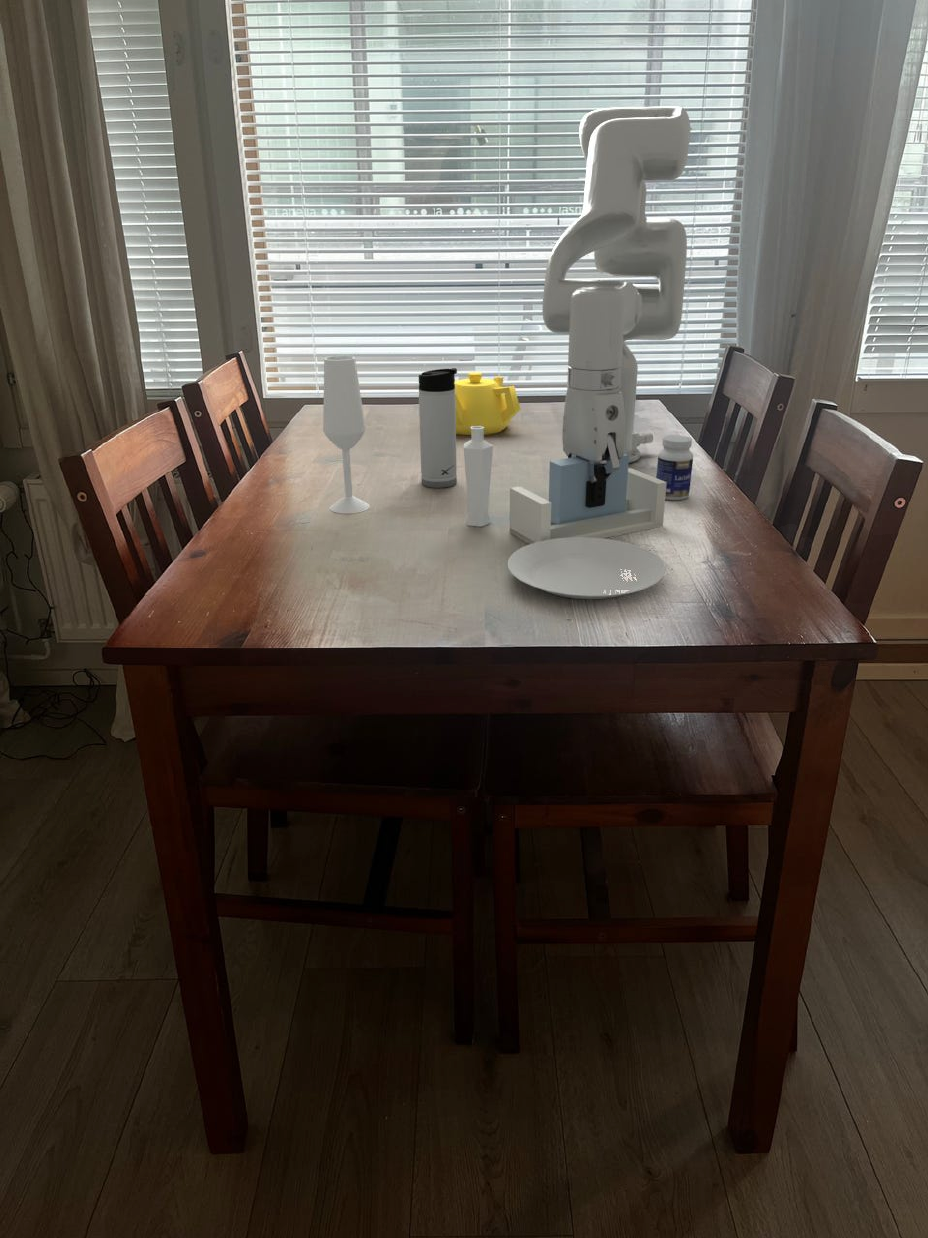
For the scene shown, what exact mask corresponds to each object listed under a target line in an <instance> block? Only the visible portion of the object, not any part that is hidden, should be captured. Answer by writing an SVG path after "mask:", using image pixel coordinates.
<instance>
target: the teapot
mask: <svg viewBox="0 0 928 1238" xmlns="http://www.w3.org/2000/svg"><path fill="white" fill-rule="evenodd" d="M482 377H483V373H482V372H477V371H475V372H474V371H472V372H469V373H467V378H464V379H463V378H462V379H459V380H455V383H454V384H455V404H456V435H463V436H471V426H482V427H485V428H484V436H486V435H487V436H488V435H492V434H493V435H494V434H498V433H500V432H503V431H504V430H505V429H506V427H508V425H509V424H510V423H511V420H512V418H514V417H515V415H517V414H518V413H519V412H520V411H521V406H520V402H519V399H518V394H517V390H516V387H515V385H511V386H510V385H509V386H504V385H503V384H504V377H503V376H496V377H493V379H490V378H489V379H488V378H482ZM502 430H503V431H502Z"/></svg>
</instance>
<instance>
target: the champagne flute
mask: <svg viewBox="0 0 928 1238" xmlns="http://www.w3.org/2000/svg"><path fill="white" fill-rule="evenodd" d="M323 360H324V361H323V366H324V367H323V409H322V410H323V412H322V413H323V414H322V415H323V416H322V419H323V420H322V421H323V422H322V429H323V433H324V435H325V437H326V438H327V439H328V441H330V442H331V443H332V444H333V445H334V446H335V447H337V448H339V450H341V452H342V453H341V454H342V466H343V468H342V469H343V481H344V495H345V496H343V497H342V498H340V499H339V500H337V501H335V502H334V503H333V504H331V505H330V506H329V511H331V512H333V513H338V514H356V513H361V512H364V511H368V509H370V508H371V506H370V504H369V503H368V502H365V501H364V500H361V499H359V498H358V497H356V496H354V495H353V485H352V484H353V483H352V482H353V481H352V468H351V466H352V465H351V454H350V453H351V451H350V450H351V449H352V448H354V447H355V446H356V445H357V443H358V442H359V441H360V440H361V439H362V438H363V436H364V435H365V432H366V421H365V416H364V408H363V402H362V395H361V389H360V383H359V382H360V381H359V376H358V370H357V369H358V368H357V363H356V357H355V356H352V355H332V356H331V355H329V356H326V357H324V359H323Z"/></svg>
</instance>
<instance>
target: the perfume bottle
mask: <svg viewBox="0 0 928 1238" xmlns="http://www.w3.org/2000/svg"><path fill="white" fill-rule="evenodd" d="M484 428H485V427H482V426H471V435H470V436H471V439H469V440H468V441H466V442H464V443H463V456H464V467H465V468H464V469H465V470H464V471H465V483H466V484H465V485H466V497H467V499H466V500H467V509H468V511H467V512H468V513H467V518H466V526H471V527H480V528H481V527H485V526H487V525H488V524H490V523H491V520H490V516H489V505H490V504H489V503H490V492H491V491H490V490H491V489H490V488H491V476H492V466H493V465H492V463H493V462H492V461H493V452H494V450H493V449H494V445H493V444H491V443H489V442H488V441H486V440H484V439H485V438H484V437H485V435H484Z"/></svg>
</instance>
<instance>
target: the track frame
mask: <svg viewBox="0 0 928 1238" xmlns="http://www.w3.org/2000/svg"><path fill="white" fill-rule="evenodd" d="M666 483H667V482H665V481H662V480H660V479H657V478H656V477H654V476H651V475H650V474H646V473H644V472H642V471H638V470H636V469H635V468H631V467H628V478H627V493H626V508H625V512H622V513H617V514H612V515H606V516H601V517H596V518H590V519H585V520H580V521H574V522H569V523H564V524H558V525H557V524H556V523H554V522H552V521H551V502H549V500H547V499H545V498H543V497H542V496H540V495H537V494H535V493H533V492H531V491H530V490H527V489H525V488H524V487H521V486H520V485H519V486H513V487H509V533H510V534H512V535H513V536H515V537H516V538H518V539H519V540H521V541H523V542H525V543H526V544H527V545H530V544H532V543H535V542H540V541H544V540H549V539H557V538H569V537H589V538H603V539H608V538H611V537H617V536H621V535H625V534H626V535H627V534H631V533H637V532H642V531H646V530H652V529H656V528H661V527H664V517H665V516H664V515H665V507H666V506H665V504H666V503H665V502H666V500H665V495H666Z"/></svg>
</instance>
